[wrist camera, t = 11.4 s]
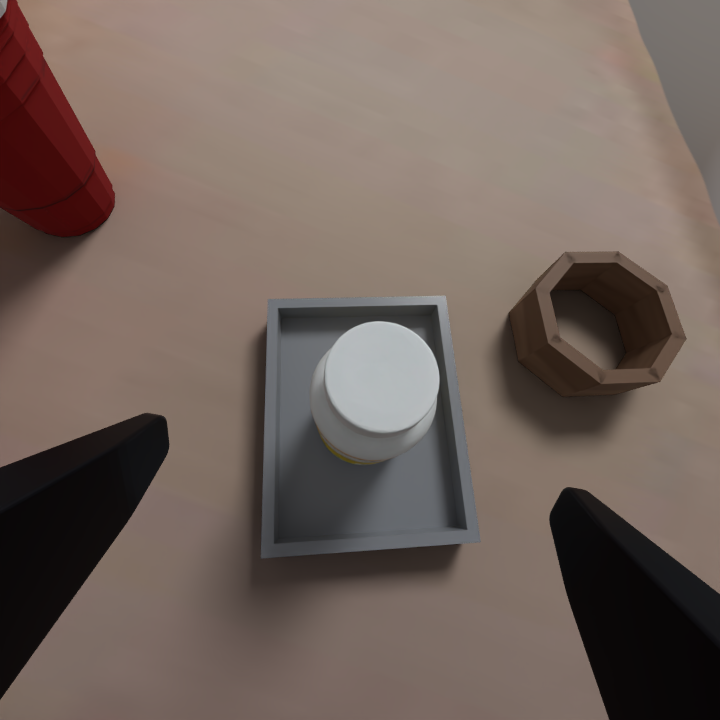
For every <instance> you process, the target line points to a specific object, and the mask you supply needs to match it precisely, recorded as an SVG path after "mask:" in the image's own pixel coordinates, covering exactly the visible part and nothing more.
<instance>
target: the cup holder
mask: <svg viewBox="0 0 720 720" xmlns="http://www.w3.org/2000/svg"><path fill="white" fill-rule="evenodd" d="M551 290H582V291H583V292H584V293H586V294H587V295H589V296H590V297H591V298H593V299H594V300H595V301H597V302H598V303H599V304H601V305H602V306H604V307H605V308H606V309H608V310H609V311H610V312H612V313H613V314H614V315H615V317H616V320H617V324H618V327H619V330H620V334H621V337H622V340H623V344H624V347H625V350H626V354H625V356H624V357H623V359H622V360H621V362H620V363H619V365H618V366H617V368H616V369H615V370H602V369H601V368H600V367H598V366H597V365H596V364H594V363H593V362H592V361H590V360H589V359H588V358H586V357H585V356H584V355H583V354H581V353H580V352H579V351H577V350H576V349H575V348H573V347H572V346H571V345H570V344H568V343H567V342H566V341H564V340H563V339H562V338H560V334H559V330H558V326H557V322H556V318H555V314H554V310H553V306H552V301H551V297H550V291H551ZM509 316H510V321H511V326H512V331H513V336H514V341H515V346H516V351H517V356H518V361H519V362H520V363H521V364H522V365H524V366H525V367H526V368H527V369H529V370H530V371H531V372H532V373H534V374H535V375H536V376H537V377H539V378H540V379H541V380H542V381H544V382H545V383H546V384H547V385H549V386H550V387H551V388H552V389H554V390H555V391H556V392H557V393H559V394H560V395H561V396H562V397H571V396H594V395H615V394H619V393H622V392H626V391H629V390H633V389H636V388H640V387H643V386H647V385H651V384H654V383H658V382H660V381H661V379H662V378H663V376H664V374H665V373H666V371H667V370H668V368H669V366H670V365H671V363H672V361H673V360H674V358H675V357H676V355H677V353H678V352H679V350H680V348H681V347H682V345H683V344H684V342H685V340H686V337H685V334H684V331H683V328H682V325H681V323H680V320H679V317H678V314H677V311H676V309H675V306H674V303H673V300H672V297H671V295H670V292H669V289H668V286H667V285H666V284H664V283H663V282H661V281H660V280H658V279H657V278H656V277H654V276H653V275H651V274H650V273H648V272H647V271H645V270H644V269H643V268H641V267H640V266H638V265H637V264H635V263H634V262H633V261H631V260H630V259H628V258H627V257H625V256H624V255H623V254H621V253H620V252H565V253H564V254H563V255H562V256H561V257H560V258H559V259H558V260H557V261H556V262H554V263H553V264H552V265H551V266H550V267H549V268H548V269H547V270H546V271H545V272H544V273H543V274H542V275H541V276H540V277H539V278H538V279H537V280H536V281H535V282H534V284H533V285H532V286H531V287H530V288H529V290H528V291H527V292H526V293H525V294H524V296H523V297H522V298H521V299H520V300H519V301H518V303H517V304H516V305H515V306H514V307H513V309H512V310H511V311H510V312H509Z"/></svg>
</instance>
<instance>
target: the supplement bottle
mask: <svg viewBox="0 0 720 720" xmlns="http://www.w3.org/2000/svg"><path fill="white" fill-rule="evenodd" d="M438 390H439V369H438V365H437V362H436V359H435V357H434V355H433V353H432V351H431V349H430V348H429V346H428V345H427V344H426V343H425V342H424V340H423V339H422V338H421V337H419V336H418V335H417V334H416V333H414V332H413V331H411V330H410V329H408V328H406V327H404V326H401V325H398V324H395V323H390V322H383V321H375V322H368V323H364V324H361V325H358V326H356V327H353V328H352V329H350V330H348V331H347V332H346V333H344V334H343V335H342V336H341V337H340V338H339V339H338V340H337V341H336V342H335V344H334V345H333V346H332V348H331V349H330V350H329V351H327V352H326V354H325V355H324V356H323V357H322V359H321V360H320V362H319V363H318V365H317V367H316V369H315V371H314V373H313V376H312V380H311V384H310V407H311V412H312V415H313V418H314V421H315V424H316V426H317V429H318V431H319V434H320V436H321V439H322V441H323V443H324V444H325V446H326V447H327V448H328V450H329V451H330V452H331V453H332V454H334V455H335V456H336V457H338V458H339V459H341V460H343V461H345V462H348V463H351V464H356V465H371V464H376V463H379V462H383V461H385V460H388V459H391V458H394V457H396V456H399V455H401V454H403V453H405V452H407V451H408V450H410V449H411V448H412V447H414V446H415V445H416V444H417V443H418V442H419V441H420V440H421V439H422V438H423V437H424V435H425V434H426V433H427V431H428V429H429V428H430V426H431V424H432V421H433V418H434V415H435V411H436V405H437V394H438Z"/></svg>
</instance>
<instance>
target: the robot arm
mask: <svg viewBox="0 0 720 720" xmlns="http://www.w3.org/2000/svg"><path fill="white" fill-rule="evenodd" d="M168 450H169V437H168V428H167V421H166V418H165V417H164V416H162V415H156V414H151V413H144V414H141V415H138V416H136V417H133V418H130V419H128V420H125V421H122V422H120V423H117V424H114V425H112V426H109V427H107V428H104V429H101V430H99V431H96V432H93V433H91V434H88V435H85V436H83V437H80V438H77V439H75V440H72V441H69V442H67V443H64V444H61V445H59V446H56V447H53V448H51V449H48V450H46V451H43V452H40V453H38V454H35V455H32V456H30V457H27V458H24V459H22V460H19V461H16V462H14V463H11V464H8V465H6V466H3V467H0V699H1V698H2V697H3V695H4V694H5V692H6V691H7V690H8V688H9V687H10V685H11V684H12V683H13V681H14V680H15V678H16V677H17V676H18V674H19V673H20V671H21V670H22V669H23V667H24V666H25V664H26V663H27V662H28V660H29V659H30V657H31V656H32V655H33V653H34V652H35V650H36V649H37V648H38V646H39V645H40V644H41V642H42V641H43V639H44V638H45V637H46V635H47V634H48V632H49V631H50V630H51V628H52V627H53V625H54V624H55V623H56V621H57V620H58V618H59V617H60V616H61V614H62V613H63V611H64V610H65V609H66V607H67V606H68V604H69V603H70V602H71V600H72V599H73V597H74V596H75V595H76V593H77V592H78V590H79V589H80V588H81V586H82V585H83V583H84V582H85V581H86V579H87V578H88V576H89V575H90V574H91V572H92V571H93V569H94V568H95V567H96V565H97V564H98V562H99V561H100V560H101V558H102V557H103V556H104V554H105V553H106V551H107V550H108V549H109V547H110V546H111V544H112V543H113V542H114V540H115V539H116V537H117V536H118V535H119V533H120V532H121V530H122V529H123V528H124V526H125V525H126V523H127V522H128V520H129V519H130V517H131V516H132V514H133V512H134V511H135V509H136V508H137V506H138V504H139V502H140V501H141V499H142V497H143V496H144V494H145V492H146V490H147V489H148V487H149V485H150V483H151V482H152V480H153V478H154V476H155V475H156V473H157V471H158V469H159V468H160V466H161V464H162V463H163V461H164V459H165V457H166V455H167V453H168ZM549 520H550V527H551V531H552V535H553V539H554V544H555V548H556V552H557V556H558V560H559V565H560V569H561V573H562V577H563V581H564V585H565V589H566V593H567V596H568V599H569V603H570V606H571V609H572V612H573V615H574V618H575V621H576V624H577V627H578V629H579V632H580V635H581V638H582V641H583V644H584V647H585V650H586V653H587V656H588V659H589V662H590V665H591V668H592V671H593V674H594V676H595V679H596V682H597V685H598V688H599V691H600V694H601V697H602V700H603V703H604V706H605V709H606V712H607V715H608V718H609V720H720V594H719V593H718V592H716V591H715V590H714V589H712V588H711V587H710V586H709V585H707V584H706V583H705V582H703V581H702V580H701V579H700V578H698V577H697V576H696V575H694V574H693V573H692V572H691V571H689V570H688V569H687V568H686V567H684V566H683V565H682V564H680V563H679V562H678V561H677V560H675V559H674V558H673V557H671V556H670V555H669V554H668V553H666V552H665V551H664V550H662V549H661V548H660V547H659V546H657V545H656V544H655V543H653V542H652V541H651V540H650V539H648V538H647V537H646V536H644V535H643V534H642V533H641V532H639V531H638V530H637V529H635V528H634V527H633V526H632V525H630V524H629V523H628V522H627V521H625V520H624V519H623V518H621V517H620V516H619V515H618V514H616V513H615V512H614V511H612V510H611V509H610V508H609V507H607V506H606V505H605V504H603V503H602V502H601V501H600V500H598V499H597V498H596V497H594V496H593V495H592V494H591V493H589V492H588V491H586V490H583V489H577V488H572V487H567V488H565V489H563V490H562V492H561V494H560V496H559V498H558V499H557V501H556V503H555V505H554V507H553V509H552V510H551V513H550V519H549Z"/></svg>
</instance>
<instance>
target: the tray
mask: <svg viewBox="0 0 720 720" xmlns="http://www.w3.org/2000/svg"><path fill="white" fill-rule="evenodd" d="M375 321H383V322H390V323H395V324H398V325H401V326H404V327H406V328H408V329H410V330H411V331H413V332H414V333H416V334H417V335H418V336H419V337H421V338H422V339H423V340H424V342H425V343H426V344H427V345H428V346H429V348H430V349H431V351H432V353H433V355H434V357H435V359H436V362H437V365H438V369H439V390H438V394H437V405H436V411H435V415H434V418H433V421H432V424H431V426H430V428H429V429H428V431H427V433H426V434H425V435H424V437H423V438H422V439H421V440H420V441H419V442H418V443H417V444H416V445H415V446H414V447H412V448H411V449H410V450H408V451H407V452H405V453H403V454H401V455H399V456H396V457H394V458H391V459H388V460H385V461H383V462H379V463H376V464H371V465H356V464H351V463H348V462H345V461H343V460H341V459H339V458H338V457H336V456H335V455H334V454H332V453H331V452H330V451H329V450H328V448H327V447H326V446H325V444H324V443H323V441H322V439H321V436H320V434H319V431H318V429H317V426H316V424H315V421H314V418H313V415H312V412H311V407H310V384H311V380H312V376H313V373H314V371H315V369H316V367H317V365H318V363H319V362H320V360H321V359H322V357H323V356H324V355H325V354H326V352H327V351H329V350H330V349H331V348H332V346H333V345H334V344H335V342H336V341H337V340H338V339H339V338H340V337H341V336H342V335H343V334H344V333H346V332H347V331H348V330H350V329H352V328H353V327H356V326H358V325H361V324H364V323H368V322H375ZM476 542H481V541H480V534H479V527H478V520H477V513H476V506H475V499H474V492H473V485H472V478H471V471H470V464H469V457H468V450H467V443H466V436H465V429H464V422H463V415H462V408H461V401H460V394H459V387H458V380H457V373H456V366H455V359H454V352H453V345H452V338H451V331H450V324H449V317H448V310H447V302H446V296H411V297H358V298H304V299H268V315H267V351H266V388H265V425H264V461H263V498H262V534H261V558H274V557H288V556H301V555H315V554H328V553H342V552H355V551H369V550H382V549H395V548H409V547H422V546H436V545H449V544H463V543H476Z"/></svg>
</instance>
